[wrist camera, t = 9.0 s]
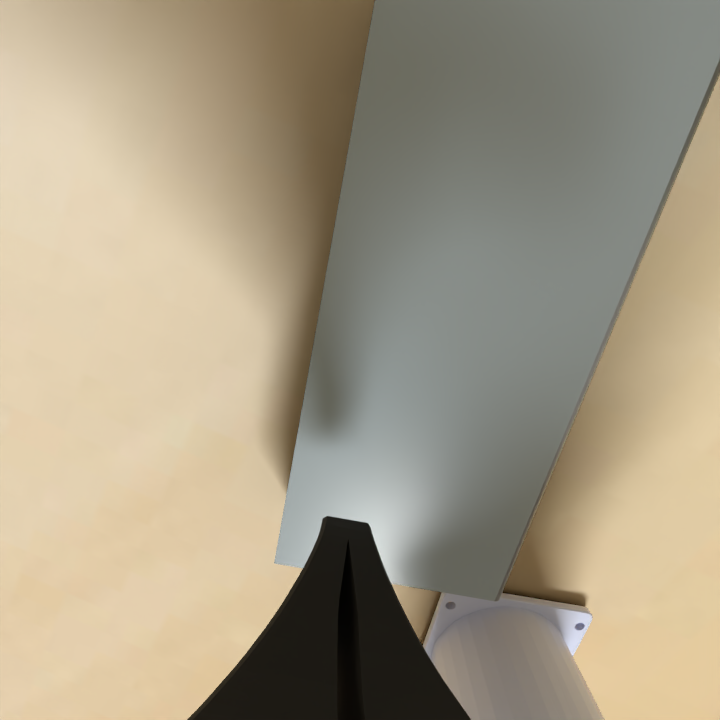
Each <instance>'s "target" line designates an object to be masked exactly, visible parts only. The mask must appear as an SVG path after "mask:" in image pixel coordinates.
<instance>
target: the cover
mask: <svg viewBox="0 0 720 720" xmlns="http://www.w3.org/2000/svg"><path fill="white" fill-rule="evenodd" d="M719 74H720V0H375V2H374V8H373V13H372V19H371V25H370V30H369V36H368V41H367V47H366V53H365V58H364V64H363V69H362V75H361V81H360V86H359V92H358V97H357V103H356V109H355V114H354V120H353V125H352V131H351V137H350V142H349V148H348V153H347V159H346V165H345V170H344V176H343V181H342V187H341V193H340V198H339V204H338V209H337V215H336V221H335V226H334V232H333V237H332V243H331V249H330V254H329V260H328V265H327V271H326V276H325V282H324V288H323V293H322V299H321V304H320V310H319V316H318V321H317V327H316V332H315V338H314V344H313V349H312V355H311V360H310V366H309V372H308V377H307V383H306V388H305V394H304V400H303V405H302V411H301V416H300V422H299V428H298V433H297V439H296V444H295V450H294V456H293V461H292V467H291V472H290V478H289V484H288V489H287V495H286V500H285V506H284V512H283V517H282V523H281V528H280V534H279V540H278V545H277V551H276V556H275V562H274V563H275V564H281V565H287V566H292V567H298V568H304V566H305V564H306V562H307V560H308V558H309V556H310V554H311V552H312V550H313V547H314V545H315V543H316V540H317V538H318V535H319V532H320V528H321V524H322V519H323V518H324V517H326V516H331V517H337V518H343V519H348V520H354V521H360V522H365V523H368V524H369V525H370V527H371V531H372V534H373V537H374V541H375V544H376V546H377V549H378V552H379V555H380V558H381V560H382V563H383V565H384V568H385V570H386V573H387V575H388V577H389V580H390V582H391V584H397V585H403V586H409V587H414V588H420V589H426V590H432V591H438V592H443V593H449V594H455V595H461V596H467V597H472V598H478V599H484V600H490V601H499V599H500V597H501V594H502V592H503V589H504V587H505V585H506V582H507V580H508V577H509V575H510V573H511V570H512V568H513V566H514V563H515V561H516V558H517V556H518V554H519V551H520V549H521V546H522V544H523V542H524V539H525V537H526V535H527V532H528V530H529V527H530V525H531V523H532V520H533V518H534V515H535V513H536V511H537V508H538V506H539V504H540V501H541V499H542V496H543V494H544V492H545V489H546V487H547V484H548V482H549V480H550V477H551V475H552V473H553V470H554V468H555V465H556V463H557V461H558V458H559V456H560V453H561V451H562V449H563V446H564V444H565V442H566V439H567V437H568V434H569V432H570V430H571V427H572V425H573V422H574V420H575V418H576V415H577V413H578V411H579V408H580V406H581V403H582V401H583V399H584V396H585V394H586V392H587V389H588V387H589V384H590V382H591V380H592V377H593V375H594V372H595V370H596V368H597V365H598V363H599V361H600V358H601V356H602V353H603V351H604V349H605V346H606V344H607V341H608V339H609V337H610V334H611V332H612V330H613V327H614V325H615V322H616V320H617V318H618V315H619V313H620V310H621V308H622V306H623V303H624V301H625V299H626V296H627V294H628V291H629V289H630V287H631V284H632V282H633V279H634V277H635V275H636V272H637V270H638V268H639V265H640V263H641V260H642V258H643V256H644V253H645V251H646V248H647V246H648V244H649V241H650V239H651V237H652V234H653V232H654V229H655V227H656V225H657V222H658V220H659V217H660V215H661V213H662V210H663V208H664V206H665V203H666V201H667V198H668V196H669V194H670V191H671V189H672V187H673V184H674V182H675V179H676V177H677V175H678V172H679V170H680V167H681V165H682V163H683V160H684V158H685V156H686V153H687V151H688V148H689V146H690V144H691V141H692V139H693V136H694V134H695V132H696V129H697V127H698V125H699V122H700V120H701V117H702V115H703V113H704V110H705V108H706V105H707V103H708V101H709V98H710V96H711V94H712V91H713V89H714V86H715V84H716V82H717V79H718V77H719Z"/></svg>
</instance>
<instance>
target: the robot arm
mask: <svg viewBox="0 0 720 720" xmlns="http://www.w3.org/2000/svg"><path fill="white" fill-rule="evenodd" d="M592 618H593V617H592V614H591V613H590V611H589V610H588V609H587V608H586V607H584V606H578V605H572V604H566V603H560V602H554V601H548V600H542V599H536V598H530V597H524V596H518V595H512V594H506V593H502V594H501V597H500V599H499V601H490V600H484V599H478V598H472V597H467V596H461V595H455V594H449V593H443V592H442V593H441V596H440V599H439V602H438V604H437V607H436V610H435V613H434V616H433V618H432V621H431V624H430V627H429V630H428V632H427V635H426V638H425V641H424V644H423V646H422V644H421V642H420V641H419V639H418V637H417V635H416V633H415V632H414V630H413V628H412V626H411V624H410V622H409V620H408V618H407V616H406V614H405V612H404V610H403V608H402V606H401V604H400V602H399V600H398V598H397V596H396V594H395V591H394V589H393V587H392V584H391V582H390V580H389V577H388V575H387V573H386V570H385V568H384V565H383V563H382V560H381V558H380V555H379V552H378V549H377V546H376V544H375V541H374V537H373V534H372V531H371V527H370V525H369V524H368V523H365V522H360V521H354V520H348V519H343V518H337V517H331V516H326V517H324V518H323V519H322V524H321V528H320V532H319V535H318V538H317V540H316V543H315V545H314V547H313V550H312V552H311V554H310V556H309V558H308V560H307V562H306V564H305V566H304V568H303V570H302V571H301V573H300V575H299V577H298V578H297V580H296V582H295V583H294V585H293V587H292V588H291V590H290V592H289V594H288V595H287V597H286V598H285V600H284V602H283V603H282V605H281V606H280V608H279V609H278V611H277V612H276V614H275V615H274V617H273V618H272V619H271V621H270V622H269V624H268V625H267V626H266V628H265V629H264V631H263V632H262V633H261V635H260V636H259V637H258V639H257V640H256V641H255V642H254V644H253V645H252V646H251V648H250V649H249V650H248V652H247V653H246V654H245V655H244V657H243V658H242V659H241V660H240V662H239V663H238V664H237V665H236V666H235V668H234V669H233V670H232V671H231V672H230V673H229V674H228V676H227V677H226V678H225V679H224V680H223V681H222V682H221V684H220V685H219V686H218V687H217V688H216V689H215V690H214V692H213V693H212V694H211V695H210V696H209V697H208V698H207V700H206V701H205V702H204V703H203V704H202V705H201V706H200V707H199V708H198V709H197V710H196V711H195V712H194V713H193V714H192V715H191V716H190V717H189V718H188V719H187V720H605V719H604V718H603V716H602V714H601V712H600V710H599V708H598V706H597V704H596V702H595V700H594V698H593V696H592V694H591V692H590V690H589V688H588V686H587V684H586V682H585V680H584V678H583V676H582V674H581V672H580V670H579V668H578V666H577V664H576V662H575V660H574V658H573V655H574V653H575V651H576V649H577V647H578V646H579V644H580V642H581V640H582V638H583V636H584V634H585V632H586V630H587V628H588V627H589V625H590V623H591V621H592Z"/></svg>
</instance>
